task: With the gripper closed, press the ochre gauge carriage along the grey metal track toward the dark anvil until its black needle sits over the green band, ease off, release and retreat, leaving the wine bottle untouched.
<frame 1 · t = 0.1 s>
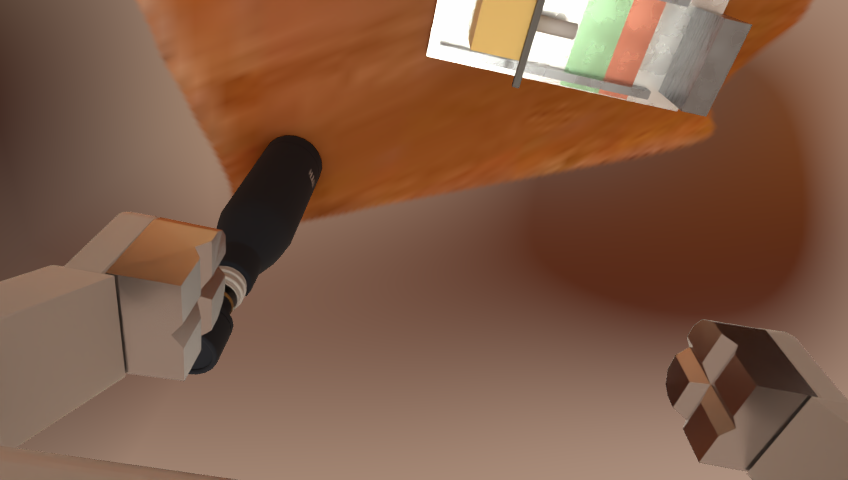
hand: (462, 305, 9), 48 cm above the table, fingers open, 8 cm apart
carriage: (527, 21, 48), point 4 cm above the table, slide at 0.0 cm
wine bottle: (293, 161, 60), on the table
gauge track: (571, 25, 52), on the table
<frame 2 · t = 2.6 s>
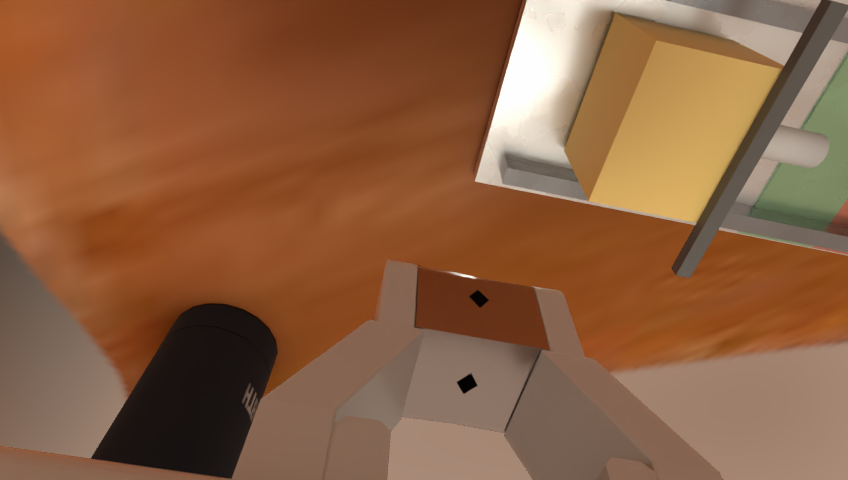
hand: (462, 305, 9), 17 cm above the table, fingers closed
carriage: (713, 130, 21), point 4 cm above the table, slide at 0.0 cm
wine bottle: (226, 341, 34), on the table
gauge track: (777, 121, 25), on the table
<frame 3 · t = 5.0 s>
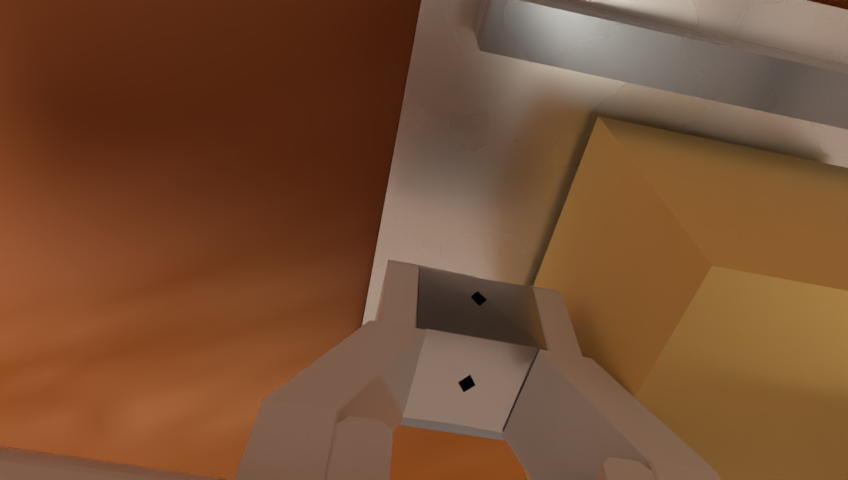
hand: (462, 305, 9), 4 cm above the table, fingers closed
carriage: (817, 378, 10), point 4 cm above the table, slide at 0.0 cm, touching gripper
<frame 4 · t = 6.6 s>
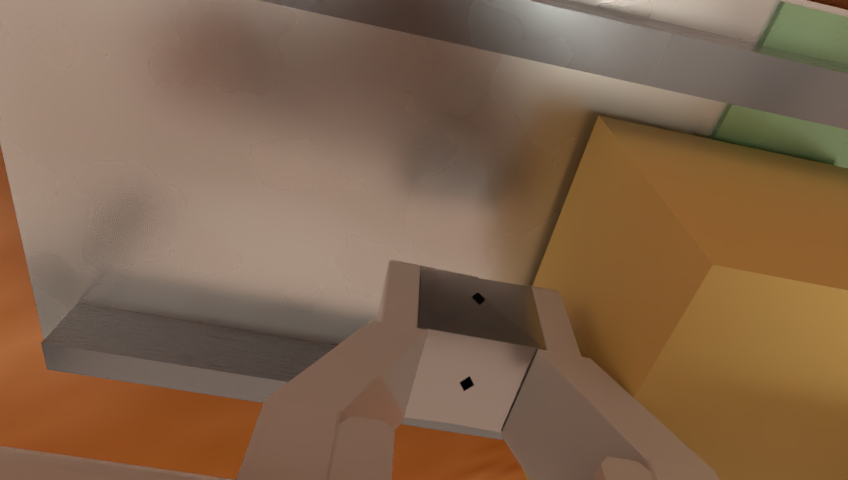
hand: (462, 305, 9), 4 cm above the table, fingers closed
carriage: (816, 378, 10), point 4 cm above the table, slide at 7.6 cm, touching gripper
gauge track: (612, 234, 13), on the table
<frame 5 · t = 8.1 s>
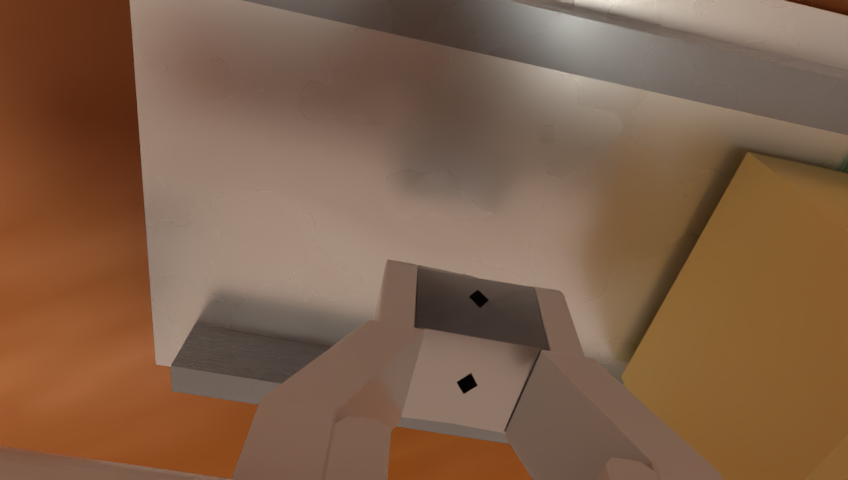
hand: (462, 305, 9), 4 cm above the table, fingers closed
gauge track: (720, 259, 13), on the table
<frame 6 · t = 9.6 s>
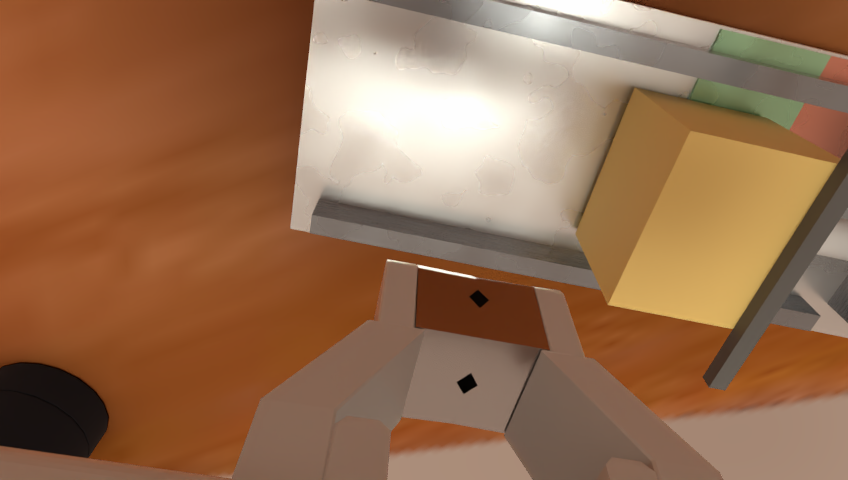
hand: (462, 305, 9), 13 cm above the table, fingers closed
carriage: (748, 221, 18), point 4 cm above the table, slide at 7.9 cm
wine bottle: (50, 404, 29), on the table
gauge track: (633, 162, 22), on the table
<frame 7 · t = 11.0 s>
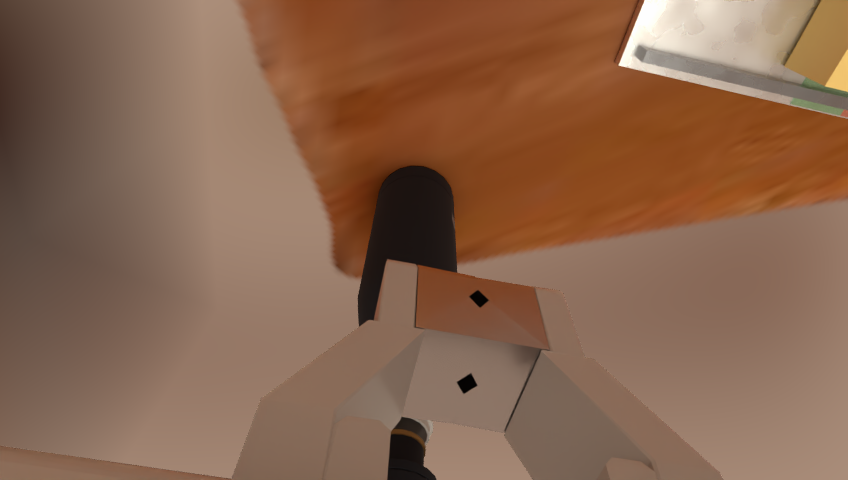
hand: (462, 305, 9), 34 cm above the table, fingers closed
wine bottle: (415, 198, 47), on the table
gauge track: (819, 24, 38), on the table
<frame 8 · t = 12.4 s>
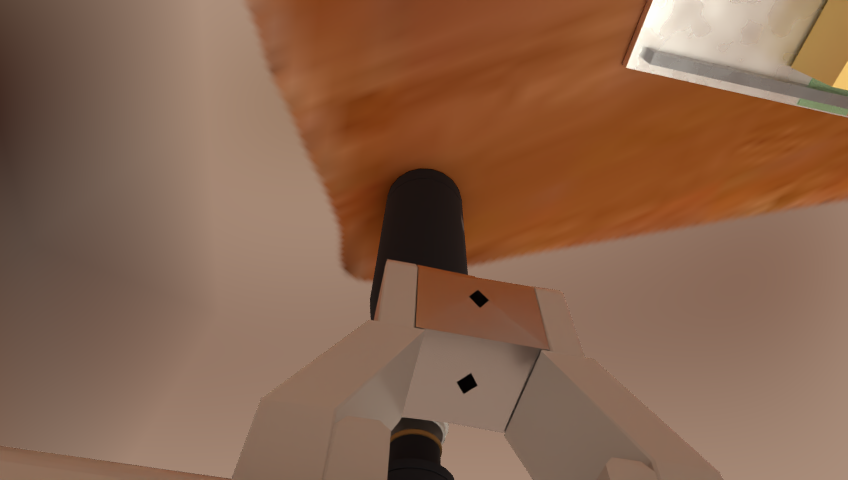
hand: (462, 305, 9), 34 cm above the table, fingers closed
wine bottle: (424, 201, 47), on the table
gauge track: (825, 25, 39), on the table
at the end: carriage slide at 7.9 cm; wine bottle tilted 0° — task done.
